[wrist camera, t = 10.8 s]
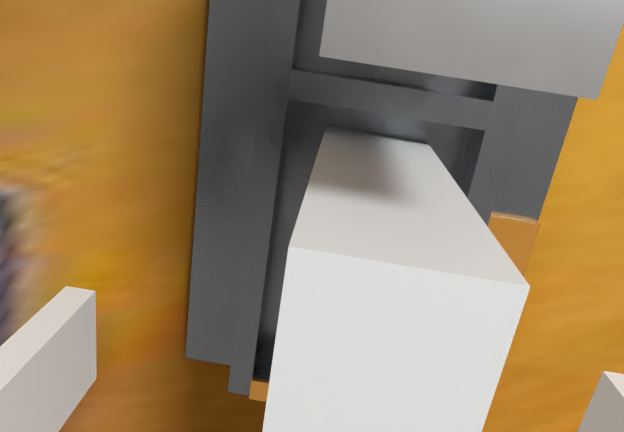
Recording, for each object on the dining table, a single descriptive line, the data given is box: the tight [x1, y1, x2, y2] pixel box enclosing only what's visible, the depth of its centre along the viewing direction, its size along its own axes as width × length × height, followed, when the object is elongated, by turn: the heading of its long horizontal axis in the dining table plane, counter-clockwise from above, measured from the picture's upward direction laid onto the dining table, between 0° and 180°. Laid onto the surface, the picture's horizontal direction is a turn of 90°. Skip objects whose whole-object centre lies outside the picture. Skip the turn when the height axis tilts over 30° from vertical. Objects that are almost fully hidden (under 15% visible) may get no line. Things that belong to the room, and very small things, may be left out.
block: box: [262, 126, 530, 432], centre depth 15 cm, size 4×10×12 cm, turn 172°
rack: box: [185, 0, 624, 402], centre depth 14 cm, size 14×27×13 cm, turn 172°
